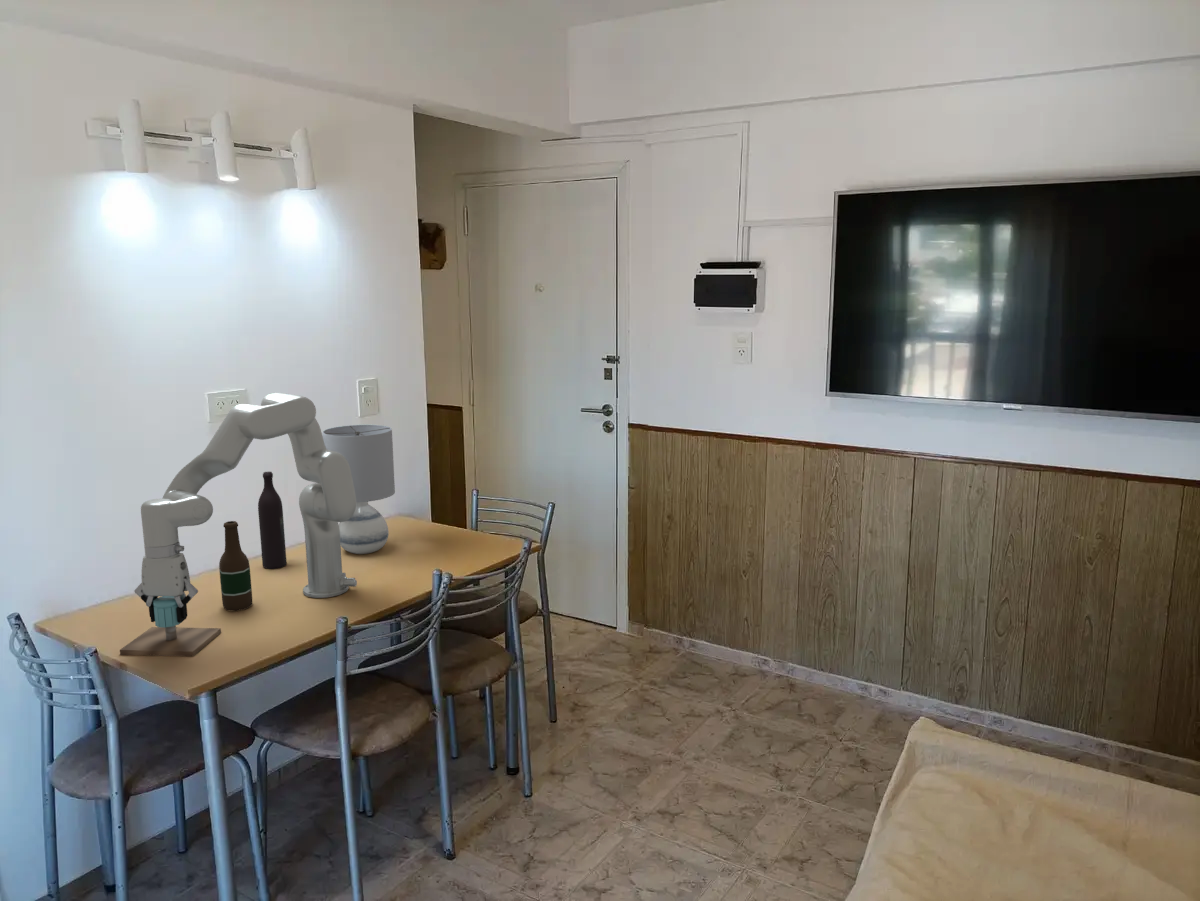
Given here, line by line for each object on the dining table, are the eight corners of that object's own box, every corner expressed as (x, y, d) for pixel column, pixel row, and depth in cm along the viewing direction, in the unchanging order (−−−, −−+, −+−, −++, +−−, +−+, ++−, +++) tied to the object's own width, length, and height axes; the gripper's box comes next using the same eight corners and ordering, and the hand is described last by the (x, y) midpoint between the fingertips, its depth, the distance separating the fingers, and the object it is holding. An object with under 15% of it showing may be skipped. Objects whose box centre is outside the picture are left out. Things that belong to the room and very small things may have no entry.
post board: (221, 632, 223) (219, 611, 222) (193, 656, 209) (191, 633, 208) (152, 631, 224) (149, 609, 223) (120, 654, 210) (117, 631, 209)
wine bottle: (287, 567, 272) (280, 473, 266) (262, 570, 270) (255, 475, 264) (286, 561, 279) (279, 469, 273) (262, 563, 276) (255, 471, 270)
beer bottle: (234, 613, 235) (226, 527, 231) (216, 608, 239) (208, 523, 235) (259, 604, 242) (252, 520, 237) (241, 599, 246) (234, 516, 241)
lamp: (315, 553, 286) (307, 432, 278) (365, 536, 304) (359, 422, 296) (362, 564, 275) (355, 438, 267) (411, 546, 293) (405, 428, 285)
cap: (187, 618, 218) (185, 595, 217) (174, 627, 212) (172, 604, 211) (163, 617, 218) (161, 594, 217) (150, 627, 212) (148, 603, 211)
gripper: (204, 546, 215) (210, 615, 218) (136, 544, 216) (143, 613, 219) (189, 555, 208) (195, 627, 211) (118, 554, 208) (126, 625, 212)
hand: (169, 619), depth 215 cm, fingers closed on cap, 6 cm apart
